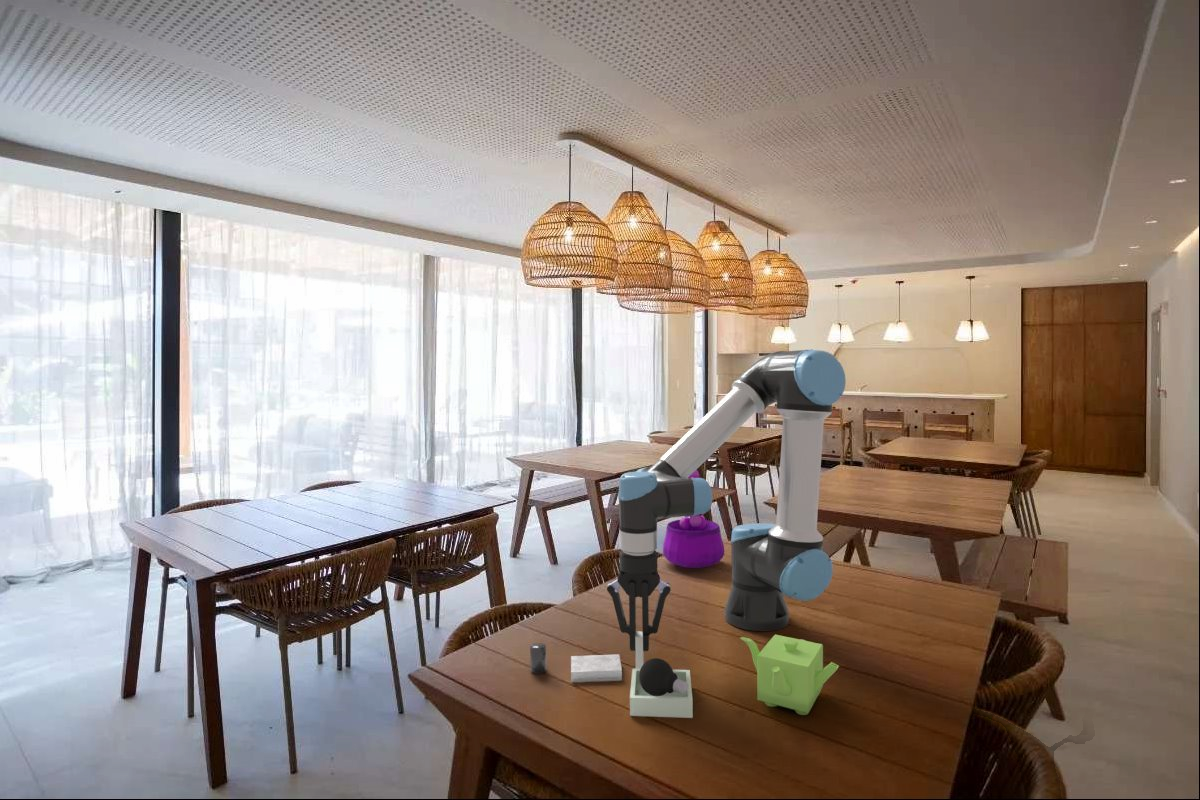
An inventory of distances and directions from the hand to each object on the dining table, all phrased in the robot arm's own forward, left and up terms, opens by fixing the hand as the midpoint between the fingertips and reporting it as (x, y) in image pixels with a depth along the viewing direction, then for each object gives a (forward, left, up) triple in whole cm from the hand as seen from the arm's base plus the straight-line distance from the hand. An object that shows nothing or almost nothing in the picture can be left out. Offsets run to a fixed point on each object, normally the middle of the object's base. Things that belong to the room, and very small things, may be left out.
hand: (639, 665), depth 130 cm
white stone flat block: (+9, 0, -2) cm, 9 cm away
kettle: (-27, +9, -2) cm, 29 cm away
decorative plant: (-14, -71, -2) cm, 73 cm away
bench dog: (+21, 0, -2) cm, 21 cm away
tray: (-4, +10, -2) cm, 11 cm away
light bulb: (-5, +12, 0) cm, 13 cm away
